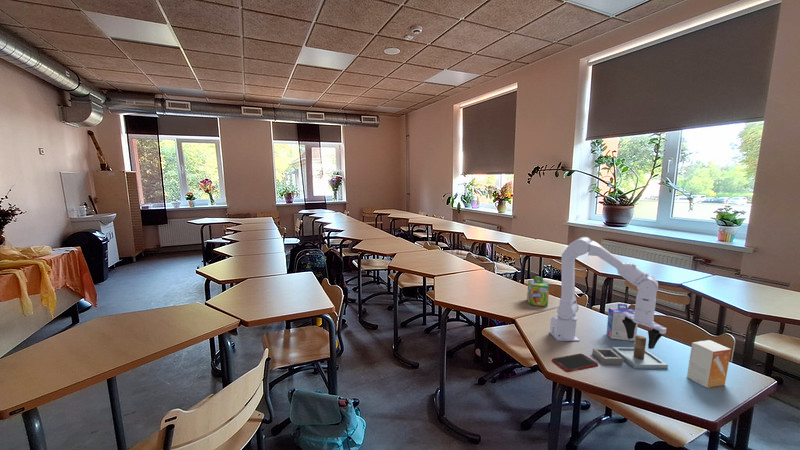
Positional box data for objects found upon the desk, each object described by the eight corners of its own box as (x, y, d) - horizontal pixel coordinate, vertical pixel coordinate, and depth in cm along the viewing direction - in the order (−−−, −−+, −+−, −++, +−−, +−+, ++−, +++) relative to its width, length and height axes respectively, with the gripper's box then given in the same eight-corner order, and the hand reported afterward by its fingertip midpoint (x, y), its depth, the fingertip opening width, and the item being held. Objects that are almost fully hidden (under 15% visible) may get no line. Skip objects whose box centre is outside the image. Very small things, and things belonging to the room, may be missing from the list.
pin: (639, 360, 117) (642, 340, 116) (631, 355, 120) (633, 336, 119) (646, 358, 118) (648, 338, 117) (637, 354, 121) (639, 334, 120)
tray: (634, 368, 113) (634, 364, 113) (612, 350, 125) (612, 346, 125) (667, 368, 113) (668, 364, 113) (642, 350, 125) (642, 347, 125)
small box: (707, 388, 102) (713, 351, 100) (686, 377, 108) (691, 341, 107) (725, 385, 104) (732, 348, 102) (703, 374, 110) (709, 339, 108)
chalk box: (530, 305, 170) (532, 279, 168) (526, 299, 179) (528, 274, 177) (548, 306, 168) (550, 280, 166) (543, 300, 177) (545, 275, 175)
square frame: (603, 363, 116) (604, 358, 115) (592, 353, 123) (592, 348, 122) (622, 364, 116) (623, 358, 115) (610, 353, 123) (610, 348, 122)
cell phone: (599, 366, 115) (599, 364, 115) (566, 373, 111) (566, 370, 110) (581, 355, 122) (581, 353, 122) (550, 361, 118) (550, 358, 118)
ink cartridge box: (630, 335, 138) (633, 304, 136) (636, 341, 132) (640, 309, 130) (605, 333, 140) (608, 302, 138) (610, 339, 134) (614, 307, 132)
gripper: (618, 302, 122) (614, 335, 124) (658, 318, 108) (653, 354, 110) (631, 300, 124) (627, 332, 126) (672, 315, 110) (667, 351, 112)
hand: (640, 342), depth 118 cm, fingers open, 7 cm apart
